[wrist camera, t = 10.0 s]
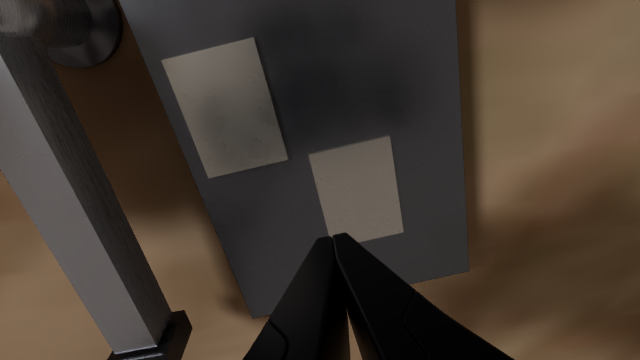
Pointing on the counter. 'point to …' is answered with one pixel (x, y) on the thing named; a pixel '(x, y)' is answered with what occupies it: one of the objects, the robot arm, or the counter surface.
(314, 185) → the chassis
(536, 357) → the counter surface
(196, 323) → the counter surface
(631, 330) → the counter surface
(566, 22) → the counter surface
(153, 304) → the cable arm
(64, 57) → the pivot base
